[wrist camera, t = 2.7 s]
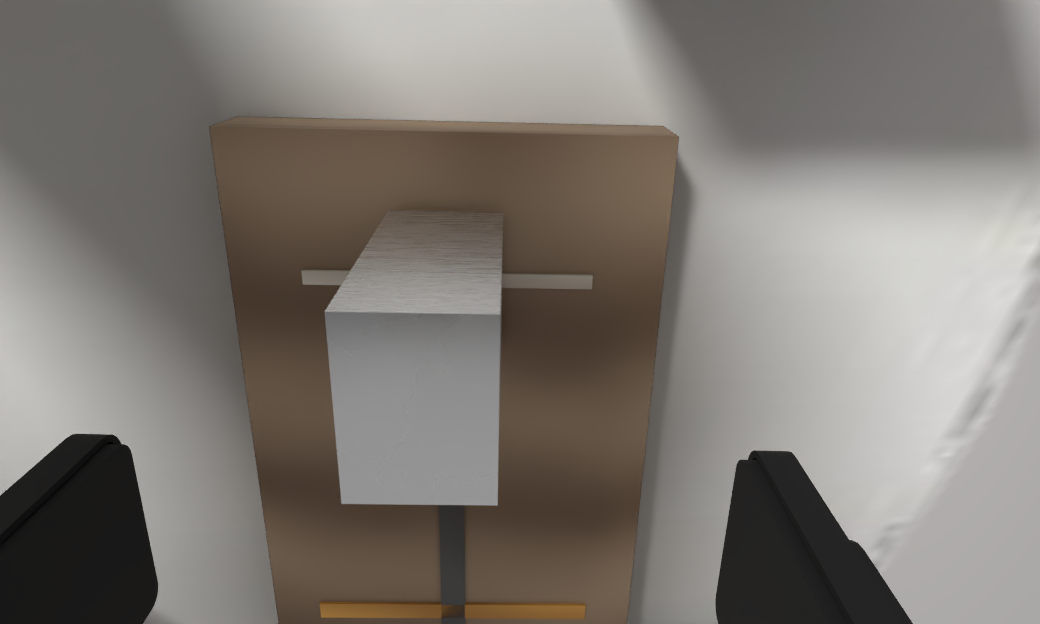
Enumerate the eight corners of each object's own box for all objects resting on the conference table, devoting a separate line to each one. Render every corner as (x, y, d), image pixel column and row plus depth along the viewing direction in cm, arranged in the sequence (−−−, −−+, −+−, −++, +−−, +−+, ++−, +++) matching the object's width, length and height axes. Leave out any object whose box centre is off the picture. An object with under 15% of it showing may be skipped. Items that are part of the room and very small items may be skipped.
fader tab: (388, 209, 19) (324, 311, 12) (503, 212, 19) (500, 314, 12) (395, 348, 20) (341, 503, 14) (501, 349, 20) (497, 505, 14)
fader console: (237, 116, 20) (207, 126, 18) (663, 126, 20) (679, 137, 18) (308, 684, 28) (293, 733, 26) (608, 685, 28) (615, 734, 27)
